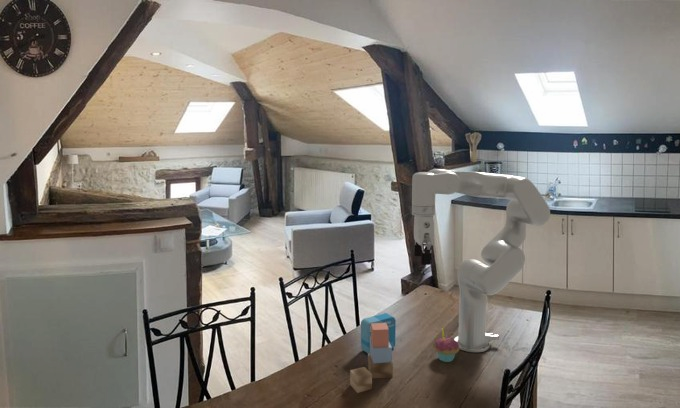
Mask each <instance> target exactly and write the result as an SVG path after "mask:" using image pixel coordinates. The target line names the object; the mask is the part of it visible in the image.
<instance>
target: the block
mask: <svg viewBox="0 0 680 408" xmlns="http://www.w3.org/2000/svg"><path fill="white" fill-rule="evenodd" d="M349 384H350V386H351V388H352V389H353V390H354V391H355V392H356V393H357V394H359V393H364V392H366V391H370V390H372V389H373V378H372V374H371V373H370V372H369V369H368V368H366V367H365V366H361V367H358V368H354V369H350V370H349Z"/></svg>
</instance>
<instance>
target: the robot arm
mask: <svg viewBox="0 0 680 408" xmlns="http://www.w3.org/2000/svg"><path fill="white" fill-rule="evenodd" d="M411 177H412V179H411V184H412V185H411V215H412V216H414V217H413V239H414V252H413V253H414V257H420V265H422V266H424V265H425V266H430V265H432V247H433V246H434V245H435V223H434V222H435V221H434V220H435V219H434V216H435V215H436V195H448V196H449V195H454V194H455V193H456V194H457V193H458V194H462V195H466V196H469V197H475V198H487V199H488V198H489V199H498V200H500V199H501V200H508V203H507V205H506V211H505V212H506V214H505V215H506V218H505V219H506V220H505V224H504V226H503V227H502V229H500V231H499V232H498V233H497V234H495V236H494V237H493V238H492V239H490V241H488V242H487V243H486V245H484V247H483V248H482V250H481V253H480V257H481V259H482V260H483V262H482V261H480V260H478V259H476V258H475V259H474V258H467V259H465V260H463V261H462V262H461V263H460V264H459V265H458V268H457V282H458V287H459V299H458V300H459V303H458V304H459V305H458V307H459V310H458V330H457V331H458V334H457V336H455V337H454V339H453V340H455V341H456V342H457V343H458V345H459V350H461V351H465V352H468V353H482V352H485V351H487V350H488V351H489V349H490V346H491V343H490V342H491V341H493V342H494V341H500V336H499V334H493V332H487V313H488V312H487V309H488V308H487V307H488V296H493V295H496V294H498V293H499V292H501V290H503V289H504V288H505V287H506V286H507V285H508V284H509V283H510V282H511V281H512V280H513V279H514V278H515V277H516V276H517V275H518V274H519V273H520V272H521V270H522V269H523V267H524V265H525V261H526V256H525V253H524V251H523V250H522V249H521V248H520V247H521V246H522V244H523V243H524V242H525V240H526V237H527V224H528V225H530V226H535V227H540V226H544V225H545V224H547V222H548V221H549V220H550V217H551V209H550V206H549V204H548V203H547V201H546V200H545V199H544V197H543V196H542V194H541V193H540V191H539V190H538V188H537V186H536V185H535V184H534V183H533V182H532V181H531V180H530V179H529V178H527V177H523V176H518V175H511V174H504V173H502V174H501V173H490V172H480V171H479V172H478V171H461V170H459V171H458V170H453V169H451V170H448V169H439V168H434V169H430V170H428V171H419V172H415V173H414V174H413V175H412V176H411ZM484 262H485V263H484Z"/></svg>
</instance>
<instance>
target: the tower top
mask: <svg viewBox="0 0 680 408" xmlns="http://www.w3.org/2000/svg"><path fill="white" fill-rule="evenodd" d="M370 356H371V359H372V361H373V364H375V363H388V362H393V348H392V346H391V344H390V342H389V347H379V348H373V346H372V343H371V340H370Z"/></svg>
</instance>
